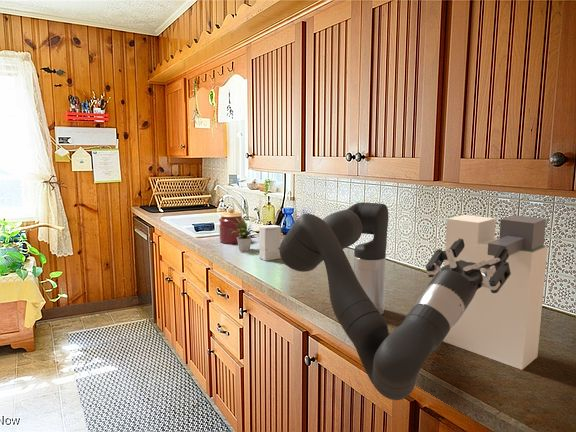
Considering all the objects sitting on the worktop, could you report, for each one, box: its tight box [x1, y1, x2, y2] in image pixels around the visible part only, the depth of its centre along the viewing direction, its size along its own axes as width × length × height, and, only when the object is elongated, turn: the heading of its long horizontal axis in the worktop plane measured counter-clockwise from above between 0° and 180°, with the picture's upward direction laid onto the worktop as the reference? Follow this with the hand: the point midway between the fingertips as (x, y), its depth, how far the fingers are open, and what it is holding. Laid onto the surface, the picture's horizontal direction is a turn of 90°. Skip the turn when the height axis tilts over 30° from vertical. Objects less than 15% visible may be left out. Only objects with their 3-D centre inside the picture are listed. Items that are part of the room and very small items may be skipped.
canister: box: [218, 208, 245, 245], centre depth 228 cm, size 13×13×18 cm
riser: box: [442, 214, 548, 371], centre depth 105 cm, size 20×9×32 cm, turn 41°
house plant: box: [232, 218, 255, 252], centre depth 210 cm, size 14×14×16 cm
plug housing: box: [488, 214, 547, 256], centre depth 95 cm, size 7×16×6 cm, turn 131°
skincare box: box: [258, 224, 282, 262], centre depth 194 cm, size 8×6×15 cm
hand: (482, 245), depth 86 cm, fingers open, 8 cm apart
